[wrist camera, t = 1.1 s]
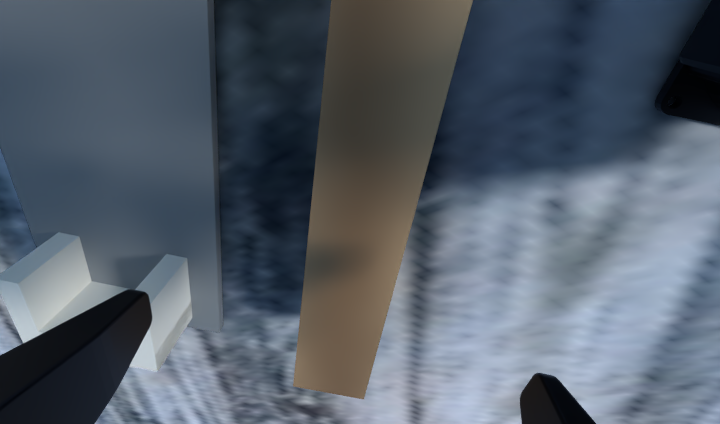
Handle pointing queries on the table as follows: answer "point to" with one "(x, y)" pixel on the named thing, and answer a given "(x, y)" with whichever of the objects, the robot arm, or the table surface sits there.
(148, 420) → the table surface
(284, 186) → the table surface
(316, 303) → the wooden block
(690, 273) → the table surface
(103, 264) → the end cap frame
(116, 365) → the robot arm
